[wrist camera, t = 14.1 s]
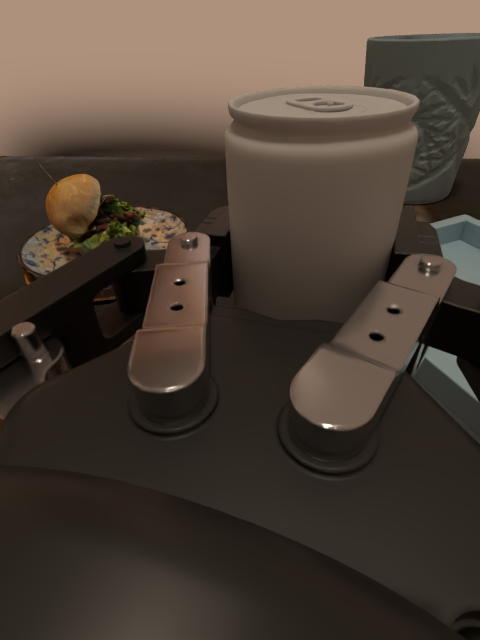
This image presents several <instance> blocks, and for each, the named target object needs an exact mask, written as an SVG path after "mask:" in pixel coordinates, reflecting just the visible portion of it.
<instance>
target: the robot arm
mask: <svg viewBox="0 0 480 640" xmlns="http://www.w3.org/2000/svg"><path fill="white" fill-rule="evenodd" d="M456 271H457V268H456V266H455V265H454V263H452V262H451V261H450V260H448V259H446V258H443V254H442V250H441V246H440V242H439V238H438V234H437V230H436V229H435V228H434V227H433V226H432V225H430V224H429V223H427V222H417V221H416V215H415V209H414V207H402V211H401V216H400V220H399V224H398V229H397V233H396V238H395V240H394V244H393V248H392V253H391V257H390V261H389V266H388V270H387V275H386V279H385V281H383V280H379V281H378V282H377V283H376V284H375V285H374V287H373V288H372V289H371V290H370V292H369V293H368V294H367V296H366V297H365V298H364V299H363V301H362V302H361V303H360V304H359V306H358V307H357V308H356V310H355V311H354V312H353V313H352V315H351V316H350V317H349V318H348V320H347V321H346V322H345V323H338V322H331V321H324V320H277V319H274V318H271V317H268V316H265V315H261V314H258V313H255V312H252V311H249V310H245V309H238V308H231V307H224V306H217V305H216V298H217V296H221V297H228V298H229V297H230V295H231V293H232V291H233V289H234V288H233V273H232V257H231V240H230V222H229V205H228V204H227V205H226V207H219V208H217V209H215V210H213V211H211V212H210V214H209V215H208V216H207V217H206V219H204V221H203V222H202V223H201V224H200V225H199V226H198V228H197V229H196V230H195V231H194V232H186V233H181V234H178V235H175V236H173V237H172V238H171V239H170V240H169V241H168V245H167V249H159V250H146V249H145V244H144V240H143V239H142V238H140V237H137V236H120V237H116V238H113V239H110V240H108V241H106V242H104V243H103V244H101V245H99V246H97V247H95V248H93V249H92V250H90V251H88V252H86V253H84V254H83V255H81V256H79V257H77V258H75V259H74V260H72V261H70V262H68V263H66V264H64V265H63V266H61V267H59V268H57V269H55V270H54V271H52V272H50V273H48V274H46V275H45V276H43V277H41V278H39V279H37V280H35V281H34V282H32V283H30V284H28V285H26V286H25V287H23V288H21V289H19V290H17V291H16V292H14V293H12V294H10V295H8V296H6V297H5V298H3V299H1V300H0V640H480V445H479V444H478V443H477V442H476V441H475V440H474V439H473V438H472V437H471V436H470V435H469V434H468V433H467V432H466V431H465V430H464V429H463V428H462V427H461V426H460V425H459V424H458V423H457V422H456V421H455V420H454V419H453V418H452V417H451V416H450V415H449V414H448V413H447V412H446V411H445V410H444V409H443V408H442V407H441V406H440V405H439V404H438V403H437V402H436V401H435V400H434V399H433V398H432V397H431V395H430V394H429V393H428V392H427V391H426V390H425V389H424V388H423V387H422V386H421V385H420V384H419V383H418V382H417V381H416V380H415V379H414V378H415V376H416V374H417V372H418V370H419V368H420V366H421V364H422V362H423V360H424V358H425V356H426V353H427V351H428V349H429V347H432V348H435V349H438V350H441V351H443V352H446V353H449V354H452V355H455V356H457V358H456V362H457V365H458V367H459V369H460V370H461V372H462V374H463V375H464V377H465V379H466V381H467V382H468V384H469V386H470V387H471V389H472V391H473V393H474V394H475V396H476V398H477V399H478V401H479V403H480V285H477V284H473V283H470V282H467V281H464V280H462V279H459V278H457V277H456V276H455V274H456ZM110 284H112V287H113V290H114V294H115V297H116V301H115V302H114V303H112V304H111V305H110V306H108V307H107V308H105V309H104V310H103V311H101V312H100V313H98V314H97V315H96V313H95V310H94V306H93V302H94V298H95V296H96V295H97V293H98V292H100V291H101V290H103V289H104V288H106V287H107V286H109V285H110ZM135 333H136V334H135ZM134 334H135V337H134V340H133V341H131V342H129V343H127V344H124V345H122V344H123V343H124V342H125V341H127V340H128V339H129V338H130V337H131V336H133V335H134ZM120 345H122V346H120ZM119 346H120V347H119Z"/></svg>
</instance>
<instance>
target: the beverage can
mask: <svg viewBox="0 0 480 640" xmlns="http://www.w3.org/2000/svg"><path fill="white" fill-rule="evenodd" d="M419 104H420V100H419V99H418V98H417V97H416V96H415V95H412V94H409V93H406V92H402V91H397V90H391V89H383V88H374V87H358V86H307V87H292V88H280V89H271V90H264V91H258V92H253V93H248V94H244V95H241V96H238V97H235V98H233V99H232V100H230V101H229V102H228V108H229V113H230V115H231V117H232V118H233V119H234V121H233V122H232V123H231V125H230V126H229V127H228V128H227V130H226V132H225V153H226V171H227V188H228V205H229V222H230V240H231V257H232V273H233V288H234V303H235V308H238V309H245V310H249V311H252V312H255V313H258V314H261V315H265V316H268V317H271V318H274V319H277V320H324V321H331V322H338V323H345V322H346V321H347V320H348V318H349V317H350V316H351V315H352V313H353V312H354V311H355V310H356V308H357V307H358V306H359V304H360V303H361V302H362V301H363V299H364V298H365V297H366V296H367V294H368V293H369V292H370V290H371V289H372V288H373V287H374V285H375V284H376V283H377V282H378V281H379V280H383V281H385V279H386V275H387V270H388V266H389V261H390V257H391V253H392V248H393V244H394V240H395V238H396V233H397V229H398V224H399V220H400V216H401V211H402V207H403V202H404V198H405V194H406V189H407V185H408V180H409V176H410V172H411V167H412V163H413V158H414V154H415V149H416V145H417V140H418V131H417V129H416V127H415V126H414V124H413V123H412V121H411V118H412V117H413V116H414V114H415V113H416V111H417V109H418V107H419Z"/></svg>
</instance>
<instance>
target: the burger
mask: <svg viewBox="0 0 480 640" xmlns="http://www.w3.org/2000/svg"><path fill="white" fill-rule="evenodd" d="M35 160H36V159H35ZM36 161H37V160H36ZM37 162H38V161H37ZM38 163H39V162H38ZM39 165H40V163H39ZM40 166H41V165H40ZM41 167H42V166H41ZM42 168H43V167H42ZM43 170H44V171H45V172H46V170H45V169H44V168H43ZM46 174H47V175H48V176H50V175H49V174H48V173H47V172H46ZM50 177H51V176H50ZM51 178H52V177H51ZM52 180H53V181H54V179H53V178H52ZM54 182H55V181H54ZM55 183H56V182H55ZM117 200H118V199H115V196H114V195H105V196H103V195H101V192H100V185H99V183H98V180H96V179H95V178H94V177H92V176H90V175H87V174H78V175H73V176H70V177H66V178H64V179H62V180H60V181H59V182H57V183H56V184H55V185H54V186H53V187H52V188H51V189H50V191H49V193H48V195H47V198H46V205H45V206H46V213H47V217H48V219H49V221H50V222H51V224H48V225H47V226H45V227H43V228H41V229H39V230H37V231H36V232H34V233H33V234H32V235H31V236H30V237H28V239H27V240H26V241H25V242H24V243H23V244H22V245H21V246H20V249H19V252H18V254H17V256H16V257H17V259H18V260H19V263H20V265H21V266H22V268H23V269H25V274H24V277H25V279H26V282H27V284H30V283H32V282H34V281H35V280H37V279H39V278H41V277H43V276H45V275H46V274H48V273H50V272H52V271H54V270H55V269H57V268H59V267H61V266H63V265H64V264H66V263H68V262H70V261H72V260H74V259H75V258H77V257H79V256H81V255H83V254H84V253H86V252H88V251H90V250H92V249H93V248H95V247H97V246H99V245H101V244H103V243H104V242H106V241H108V240H110V239H113V238H116V237H120V236H137V237H140V238H142V239H143V240H144V244H145V249H146V250H159V249H167V245H168V241H169V240H170V239H171V238H172V237H173V236H175V235H178V234H181V233H186V232H189V229H188V226H187V224H186V222H185V221H184V220H183V219H182V217H180V216H179V215H177V214H174V213H171V212H168V211H165V210H161V209H158V208H151V207H143V206H131V205H128V204H127V203H126V202H125V203H123V201H121V202H120V203H119V202H118V203H117ZM109 299H116V297H115V294H114V290H113V287H112V284H110V285H109V286H107V287H106V288H104V289H103V290H101V291H100V292H98V293H97V295H96V296H95V298H94V301H100V300H109Z"/></svg>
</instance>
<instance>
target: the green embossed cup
mask: <svg viewBox="0 0 480 640" xmlns="http://www.w3.org/2000/svg"><path fill="white" fill-rule="evenodd" d="M364 87H374V88H383V89H391V90H397V91H402V92H406V93H409V94H412V95H415V96H416V97H417V98H418V99H419V100H420V104H419V107H418V109H417V111H416V113H415V114H414V116H413V117H412V118H411V121H412V123H413V124H414V126H415V127H416V129H417V131H418V140H417V145H416V149H415V154H414V158H413V163H412V167H411V172H410V176H409V180H408V185H407V189H406V194H405V198H404V202H403V204H415V205H416V204H428V203H434V202H437V201H440V200H443V199H444V198H446V197H447V196H448V195H449V193H450V191H451V189H452V186H453V183H454V180H455V177H456V174H457V171H458V169H459V166H460V163H461V161H462V158H463V156H464V153H465V150H466V148H467V145H468V142H469V135H470V132H471V131H472V129H473V127H474V125H475V122H476V119H477V117H478V114H479V111H480V33H459V34H458V33H457V34H456V33H454V34H424V35H399V36H384V37H373V38H368V41H367V51H366V64H365V77H364Z"/></svg>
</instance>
